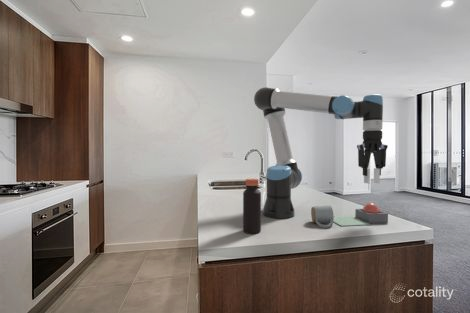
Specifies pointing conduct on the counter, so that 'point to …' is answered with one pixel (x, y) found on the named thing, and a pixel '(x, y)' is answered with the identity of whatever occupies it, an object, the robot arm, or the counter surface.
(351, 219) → the sage square
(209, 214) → the counter surface
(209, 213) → the counter surface
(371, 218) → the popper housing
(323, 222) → the ceramic mug
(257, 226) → the bottle
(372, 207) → the red dome
